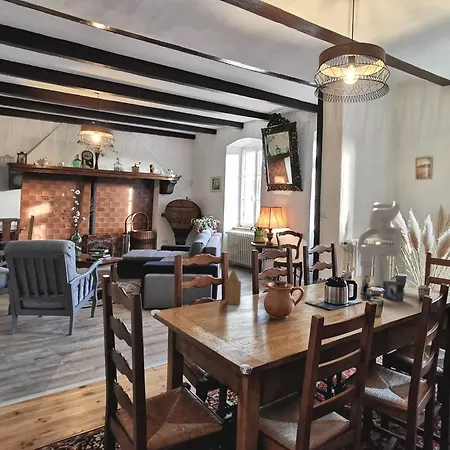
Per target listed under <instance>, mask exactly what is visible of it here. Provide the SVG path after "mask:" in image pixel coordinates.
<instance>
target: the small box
mask: <svg viewBox="0 0 450 450" xmlns="http://www.w3.org/2000/svg"><path fill="white" fill-rule="evenodd" d="M404 286H405V284H404V283H402V282H401V283H400V282H398V281H394V280H388V281H384V282H383V288H382V290H383V289H384V290H385V291H384V292H383V291H382V298H384V299H386V300H390V301H392V302H397V303H398V302H402V301H404Z"/></svg>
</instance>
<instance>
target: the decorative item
mask: <svg viewBox="0 0 450 450" xmlns="http://www.w3.org/2000/svg"><path fill="white" fill-rule="evenodd" d="M224 287H225V288H224V291H225V293H224V303H226V304H227V305H230V306H234V305H236V306H237V305H240V304H241V297H242V296H241V293H242V291H241V289H242V281H241V280H240V279H239V277H238V275H237V273H236V271H235V268H232V270H231V272H230V274H229V276H228V278H227V279H226V280H225V286H224Z"/></svg>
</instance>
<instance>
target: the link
mask: <svg viewBox="0 0 450 450" xmlns="http://www.w3.org/2000/svg"><path fill="white" fill-rule="evenodd" d="M363 286H364V284H362V283H359V293H360V294H364V293H363ZM369 288H371V289H372V285H371V284H369ZM365 294H366V295H367V293H365Z"/></svg>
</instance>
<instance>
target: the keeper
mask: <svg viewBox="0 0 450 450" xmlns="http://www.w3.org/2000/svg"><path fill="white" fill-rule="evenodd" d="M370 297H371V294H370V289H369V288H367V294H366V295H365V296H364V295H360V299H361V300H362V301H365V300H370Z"/></svg>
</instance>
